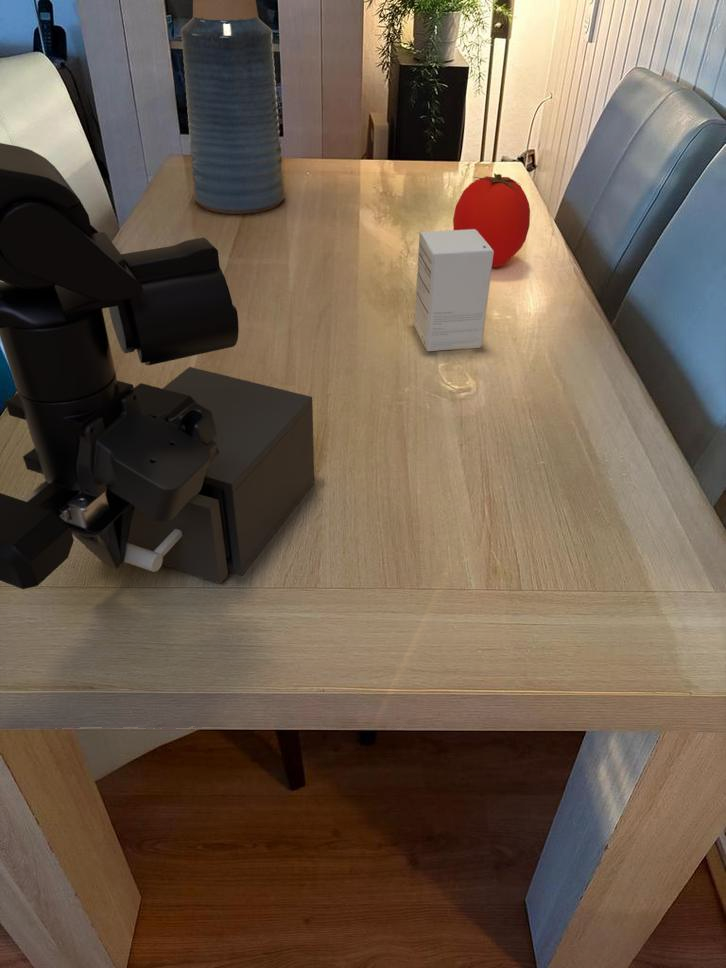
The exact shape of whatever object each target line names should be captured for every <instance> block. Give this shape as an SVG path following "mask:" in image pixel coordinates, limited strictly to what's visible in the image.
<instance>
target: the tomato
mask: <svg viewBox="0 0 726 968" xmlns="http://www.w3.org/2000/svg"><path fill="white" fill-rule="evenodd" d="M493 175H494V176H487V175H486V176H484V177H476V176H473V178H475V179H476V180H474V181H473V182H471V183H470V184H469V185H468V186H467V187H465V189H463V191H462V193H461V195H460V197H459V199H458V201H457V203H456V205H455V208H454V211H453V218H452V225H453V226H452V227H453V228H452V229H453V230H468V229H476V230H477V231H478V233H479V234H480V235H481V236H482V237H483V239H484V240H485V241H486V242H487V243H488V244H489V246H490V247H491V248H492V250H493V251H494V255H493V262H492V268H497V267H501V266H504V265H505V264H507V263H508V262H509V261H510V260H511V259H512V258H513V257H515V255H516V254H517V253H518V252H520V250H521V249H522V248H523V246H524V244H525V243H526V240H527V237H528V233H529V229H530V223H531V222H530V221H531V208H530V207H531V206H530V202H529V200H528V197H527V195H526V193H525V191H524V189H523V187H522V186H521V184H520V183H519V182H517V181H516V180H515V179H512V178H511V177H509V176H502V174H501V173H497V174H496V173H495V172H494V173H493Z"/></svg>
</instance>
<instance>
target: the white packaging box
mask: <svg viewBox="0 0 726 968" xmlns="http://www.w3.org/2000/svg"><path fill="white" fill-rule="evenodd" d="M417 253H418V254H417V269H416V272H417V273H416V284H415V285H416V286H415V287H416V288H415V301H414V302H415V303H414V315H413V326H414V328H415V330H416V333H417V334H418V337H419V339H420V341H421V343H422V346H423V347H424V348H425V350H426V352H438V351H450V350H451V351H452V350H465V349H466V350H467V349H479V348H482V347H483V339H484V331H485V325H486V316H487V309H488V308H487V307H488V300H489V293H490V284H491V277H492V269H493V267H492V262H493V255H494V251H493V250H492V248H491V247H490V246H489V244H488V243H487V242H486V241H485V240H484V239H483V237H482V236H481V235H480V234H479V233H478V231H477V230H476V229H468V230H454V229H453V230H452V229H451V230H449V229H448V230H431V231H429V230H428V231H419V237H418V252H417Z"/></svg>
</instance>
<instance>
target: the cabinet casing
mask: <svg viewBox="0 0 726 968" xmlns="http://www.w3.org/2000/svg"><path fill="white" fill-rule="evenodd" d="M162 389H165V390H169V391H173V392H177V393H181V394H185V395H189V396H191V397H192V398H193V399H194V400H195V401H196V402H197V403H198V404H199V405H201V406H203V407H204V408H206V409H208V410H209V411H211V412H212V415H213V419H214V423H215V427H216V432H217V439H216V443H217V445H216V447H217V448H218V450H219V452H220V455H219V457H218V458H217V459H216V460H215V461H214V462H213V463H212V464H211V465H210V466H209V467H208V468H207V471H206V474H205V478H204V481H203V484H207V485H210V486H214V487H217V488H220V489H224V494H225V502H226V511H227V519H228V527H229V536H230V544H231V552H232V555H231V556H230V558H226V562H227V570H228V573H232V574H234V575H237V576H240V577H242V576H244V574H245V573H246V572H247V571H248V569H250V567H251V565H252V564H253V563H254V561H255V560H256V559H257V558H258V556H259V555H260V553H262V551H263V550H264V549H265V547H266V546H267V545H268V543H270V541H271V540H272V538H273V537H274V536H275V535H276V533H277V532H278V530H280V528H281V527H282V526H283V524H284V523H285V521H286V520H287V519H288V518H289V516H290V515H291V514H292V513H293V511H294V510H295V509H296V508H297V506H298V505H299V504H300V502H301V501H302V500H303V499H304V497H305V496H306V495H307V493H308V492H309V491H310V489H311V488H312V487H313V486H314V484H315V456H314V454H315V453H314V451H315V450H314V415H313V414H314V412H313V411H314V410H313V409H314V408H313V407H314V406H313V396H310V395H306V394H302V393H298V392H294V391H290V390H286V389H282V388H278V387H274V386H270V385H265V384H261V383H257V382H253V381H249V380H245V379H240V378H238V377H233V376H230V375H224V374H221V373H217V372H212V371H209V370H204V369H201V368H195V367H193V366H189V367H187V368H186V369H185V370H183V371H182V372H181V373H180V374H178V375H177V376H176V377H175V378H173V380H171V381H170V382H168V383H167V384H166V385H165V386H164V387H162Z"/></svg>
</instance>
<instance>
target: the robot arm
mask: <svg viewBox="0 0 726 968" xmlns="http://www.w3.org/2000/svg"><path fill="white" fill-rule="evenodd" d="M90 220H91V219H90V215H89V214H88V212H87V210H86V208H85V207H84V205H83V203H82V201H81V199H80V198H79V197H78V195H77V194H76V192H75V191H74V190H73V188H72V187H71V186H70V184H69V183H68V182H67V180H66V179H65V178H64V176H63V175H62V173H60V171H59V170H58V169H57V167H56V166H55V165H54V164H52V162H50V161H49V159H47V158H46V157H44V156H43V155H41V154H40V153H38V152H36V151H34V150H32V149H30V148H25V147H22V146H18V145H13V144H7V143H2V142H0V341H1V345H2V346H3V350H4V354H5V357H6V360H7V363H8V367H9V371H10V374H11V377H12V380H13V383H14V387H15V389H16V392H17V393H15V394H14V395H12V396H10V397H9V398H8V399H6V400H5V401H4V404H5V406H6V409H7V412H8V415H9V416H11V417H14V418H16V419H20V420H25V421H26V425H27V428H28V431H29V434H30V437H31V440H32V444H33V447H34V448H33V449H31V450H29V451H28V452H27V453H25V454H24V455H23V456H22V458H23V461H24V464H25V468H26V470H28V471H32V472H34V473H38V474H41V475H43V477H44V481H42V483H40V484H39V485H38V486H37V487H35V488H34V489H32V490H31V491H30V492H29V493H28V494H26V495H25V496H24V497H22V498H21V499H19V498H17V497H13V496H10V495H9V494H8V495H7V494H5V493H2V492H0V582H3V583H5V584H8V585H11V586H13V587H16V588H18V589H21V590H27V589H30V588H33V587H38V586H39V585H40V584H41V583H42V582H44V581H45V580H46V579H47V578H48V577H49V576H50V575H51V574H52V573H53V572H54V571H55V570H57V568H59V567H60V566H61V565H62V564H63V563H64V562H65V561H66V560H67V559H68V558H69V556H70V553H71V550H72V547H73V544H74V541H75V540H74V539H75V538H76V539H77V540H78V541H79V542H80V543H81V544H82V545H83V546H86V547H87V548H88V549H89V551H90V552H91V553H92V555H94V556H95V557H96V558H97V559H99V560H100V561H101V562H102V564H104V565H105V566H107V567H109V568H112V569H115V570H118V569H119V567H120V566H122V565H123V563H125V562H124V558H125V553H126V547H127V542H128V536H129V531H130V526H131V525H130V524H131V520H132V516H133V512H134V508H135V507H137V508H138V509H140V510H142V511H143V512H144V513H145V515H146V516H148V517H149V518H151V519H153V520H155V521H160V522H166V521H169V520H171V519H173V518H174V517H175V516H176V515H177V514H178V513H179V511H180V510H181V509H182V508H183V507H184V506H185V505H186V503H187V502H188V501H189V500H190V499H191V498H192V497H193V496H194V495H197V494H198V493H199V491H200V490H201V488H202V485H203V481H204V478H205V474H206V471H207V468H208V467H209V466H210V465H211V464H212V463H213V462H214V461H215V460H216V459H217V458H218V457H219V455H220V452H219V450H218V448H217V447H216V445H217V443H216V439H217V432H216V427H215V423H214V419H213V415H212V412H211V411H209V410H208V409H206V408H204V407H203V406H201V405H199V404H198V403H197V402H196V401H195V400H194V399H193V398H192V397H191V396H189V395H185V394H181V393H177V392H173V391H169V390H165V389H162V388H163V387H162V388H161V387H158V386H153V385H150V384H146V383H142V382H140V383H138V384H137V385H136V386H135V387H134V384H133V383H128V382H125V381H120V380H118V378H117V377H118V376H117V372H116V368H115V364H114V358H113V355H112V354H113V353H112V350H111V344H110V340H109V336H108V330H107V326H106V322H105V315H104V312H103V309H108V310H109V311H108V312H109V315H110V320H111V323H112V327H113V331H114V334H115V337H116V339H117V342H118V344H119V347H120V348H121V350H122V352H123V353H124V354H130V353H134V352H135V351H136V352H137V356H138V359H139V362H140V363H141V364H145V366H153V365H157V364H162V363H166V362H171V361H175V360H180V359H185V358H188V357H194V356H197V355H203V354H208V353H211V352H217V351H220V350H225V349H229V348H235V346H236V345H237V344H238V340H239V330H240V327H239V316H238V310H237V307H236V306H235V305H234V304H233V300H232V296H231V291H230V289H229V288H230V287H229V286H228V283H227V280H226V276H225V275H224V273H223V270H222V268H221V267H220V257H219V250H218V249H217V248H216V247H215V246H214V244H212V243H211V242H210V241H209V240H208V239H207V238H205V237H199V238H192V239H187V240H184V241H182V242H179V243H177V244H175V245H169V246H164V247H158V248H151V249H146V250H138V251H132V252H125V253H121V252H120V251H119V250H118V248H117V247H116V246H115V244H114V243H113V241H112V240H111V239H110V237H109V236H108V235H107V234H106V233H105V232H104V231H102V232H101V231H99V230H98V229H96V228H95V227H94V226H93V225H92V224H91V221H90ZM74 537H75V538H74ZM86 547H85V548H86ZM87 548H86V549H87ZM88 549H87V550H88Z"/></svg>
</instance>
